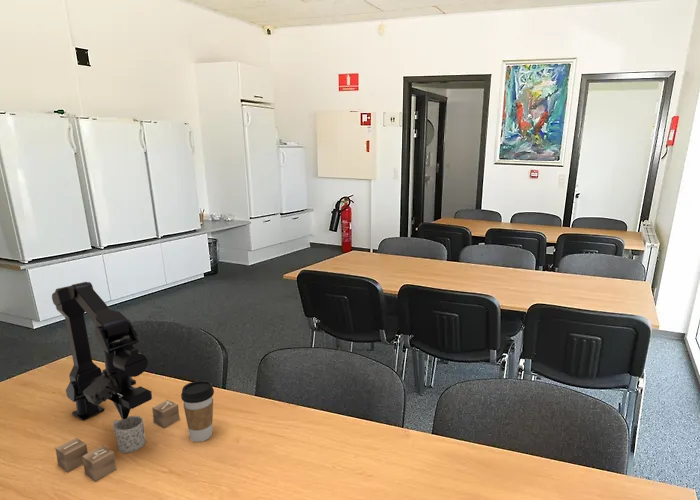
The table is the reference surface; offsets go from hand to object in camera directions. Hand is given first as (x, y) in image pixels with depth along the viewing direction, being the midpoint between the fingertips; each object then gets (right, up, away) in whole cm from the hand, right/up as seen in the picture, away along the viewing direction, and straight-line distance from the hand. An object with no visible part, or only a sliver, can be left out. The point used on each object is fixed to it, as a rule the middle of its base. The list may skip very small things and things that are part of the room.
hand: (124, 418), depth 119 cm
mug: (0, -7, +2) cm, 8 cm away
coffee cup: (+19, -7, +5) cm, 21 cm away
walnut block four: (-1, -10, -9) cm, 14 cm away
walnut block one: (-10, -9, -6) cm, 15 cm away
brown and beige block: (+7, -5, +11) cm, 14 cm away
